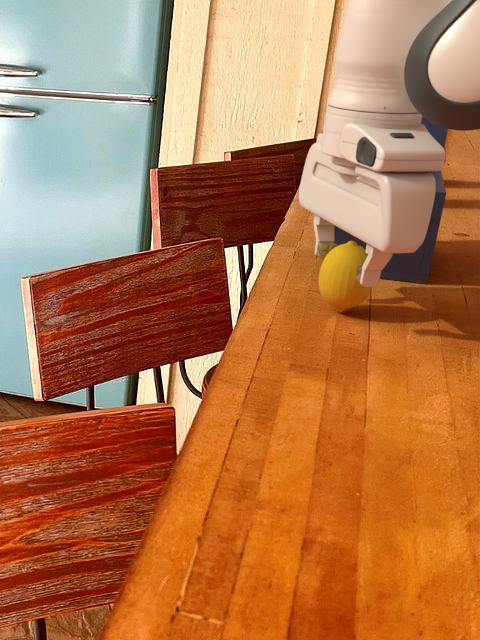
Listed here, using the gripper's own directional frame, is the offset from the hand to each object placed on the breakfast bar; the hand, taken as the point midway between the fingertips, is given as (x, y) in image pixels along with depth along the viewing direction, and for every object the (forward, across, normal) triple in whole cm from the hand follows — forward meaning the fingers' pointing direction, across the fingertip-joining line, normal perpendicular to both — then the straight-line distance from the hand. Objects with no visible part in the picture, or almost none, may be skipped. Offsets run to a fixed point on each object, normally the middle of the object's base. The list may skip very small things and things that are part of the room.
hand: (344, 270), depth 94 cm
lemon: (+5, -1, +1) cm, 5 cm away
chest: (+5, -19, +14) cm, 24 cm away
